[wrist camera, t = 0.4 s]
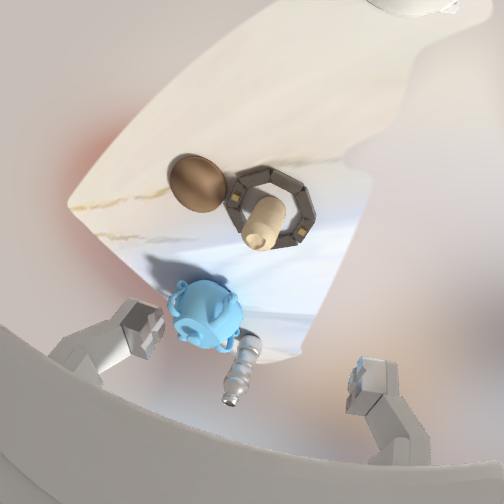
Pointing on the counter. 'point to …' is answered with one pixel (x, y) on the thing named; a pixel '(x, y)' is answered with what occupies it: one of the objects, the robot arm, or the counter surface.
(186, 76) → the counter surface
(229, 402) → the plastic bottle
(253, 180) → the collar
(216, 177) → the coaster
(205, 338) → the decorative pot
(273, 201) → the candle
